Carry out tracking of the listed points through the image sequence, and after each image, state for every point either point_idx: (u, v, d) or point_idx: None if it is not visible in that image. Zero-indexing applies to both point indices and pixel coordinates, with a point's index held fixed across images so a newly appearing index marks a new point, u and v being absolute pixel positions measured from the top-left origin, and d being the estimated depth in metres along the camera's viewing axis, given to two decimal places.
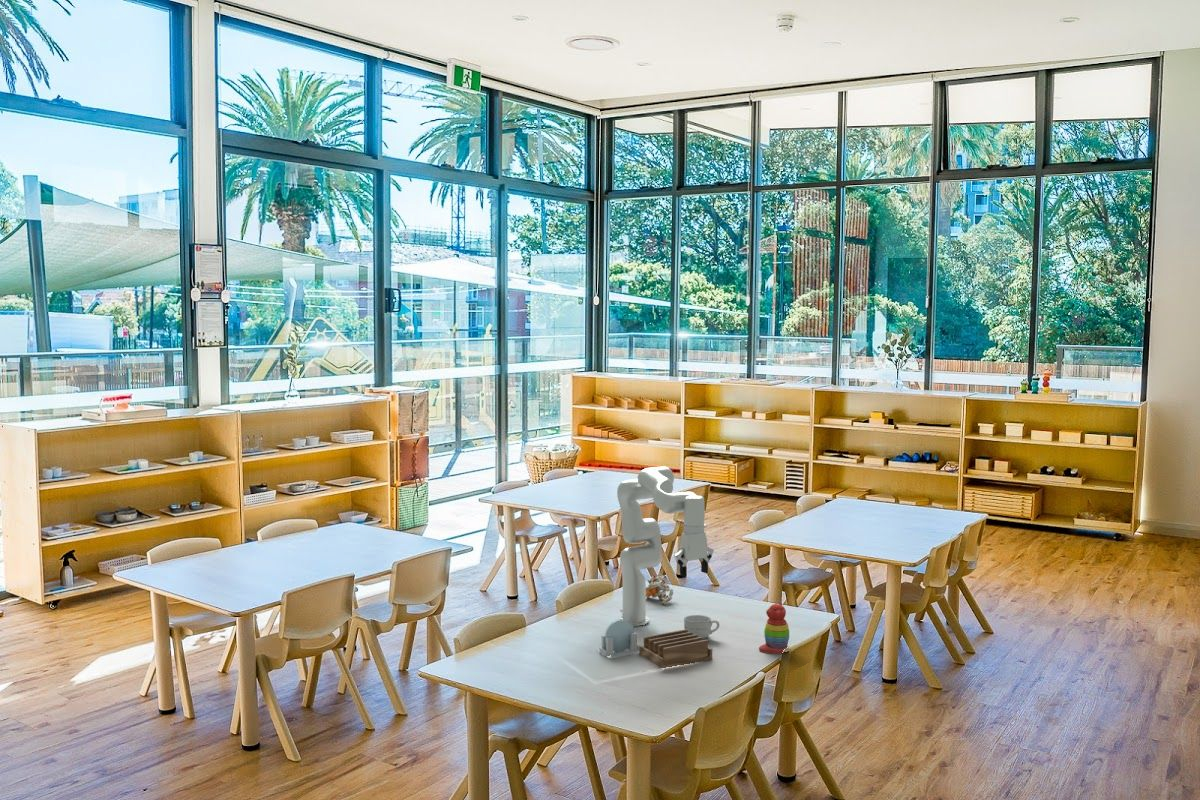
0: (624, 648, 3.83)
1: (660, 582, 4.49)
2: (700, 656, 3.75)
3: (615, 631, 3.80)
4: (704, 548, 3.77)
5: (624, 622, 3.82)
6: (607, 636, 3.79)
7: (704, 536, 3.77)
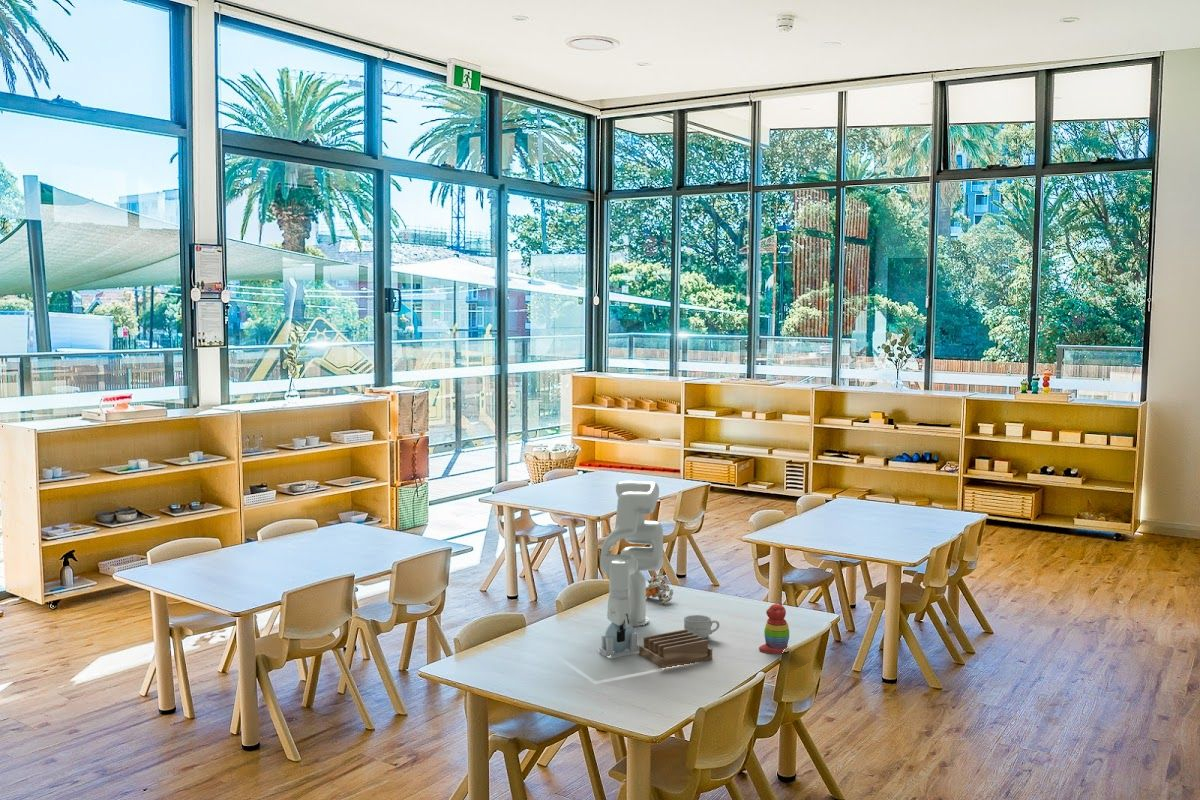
0: (624, 648, 3.83)
1: (660, 582, 4.49)
2: (700, 656, 3.75)
3: (615, 631, 3.80)
4: None
5: None
6: (607, 636, 3.79)
7: None
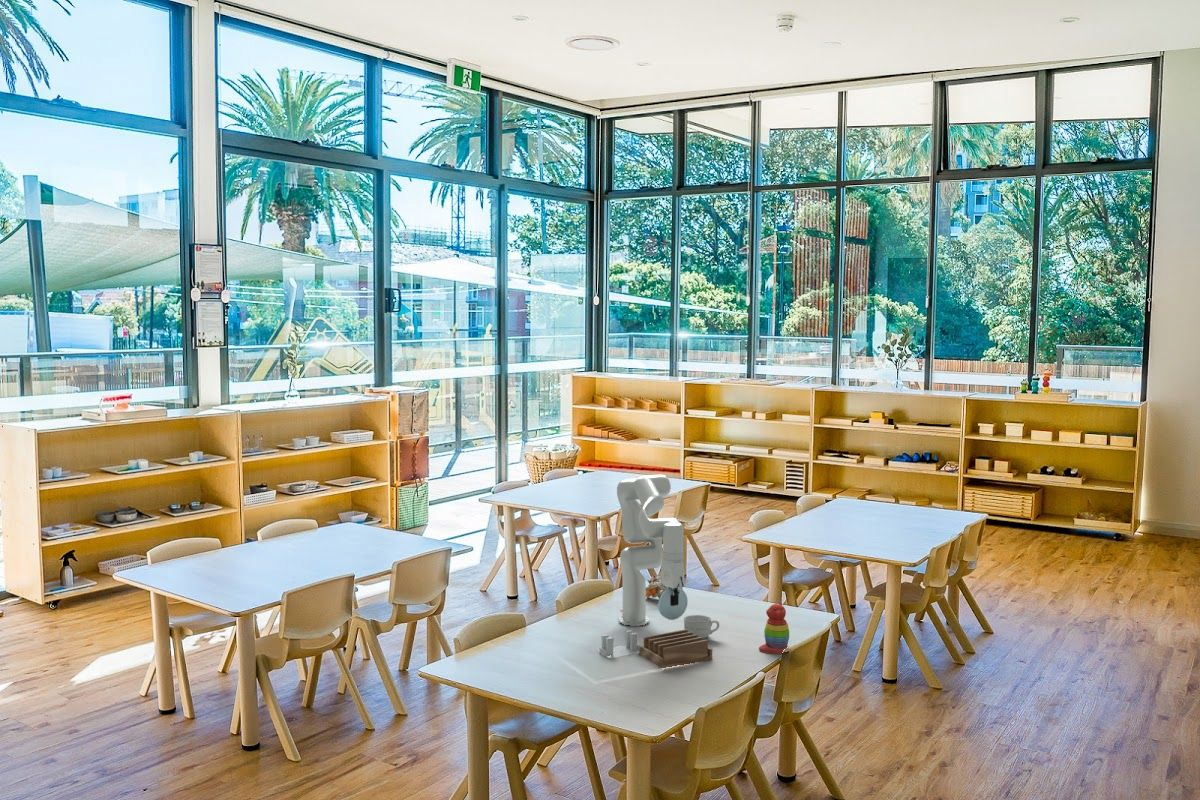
0: (675, 617, 3.78)
1: (660, 582, 4.49)
2: (700, 656, 3.75)
3: (670, 597, 3.76)
4: None
5: None
6: (662, 600, 3.75)
7: None
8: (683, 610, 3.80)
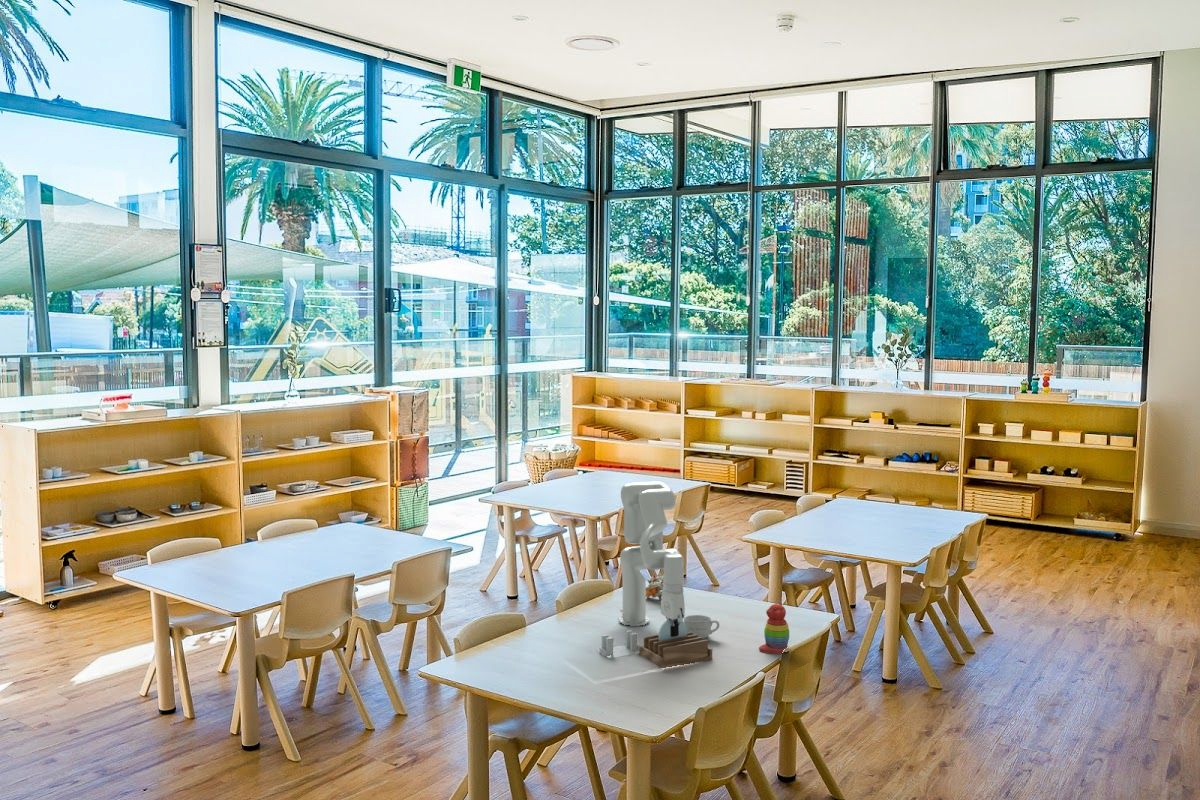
0: None
1: (660, 582, 4.49)
2: (700, 656, 3.75)
3: None
4: None
5: (683, 624, 3.80)
6: (664, 627, 3.76)
7: None
8: None
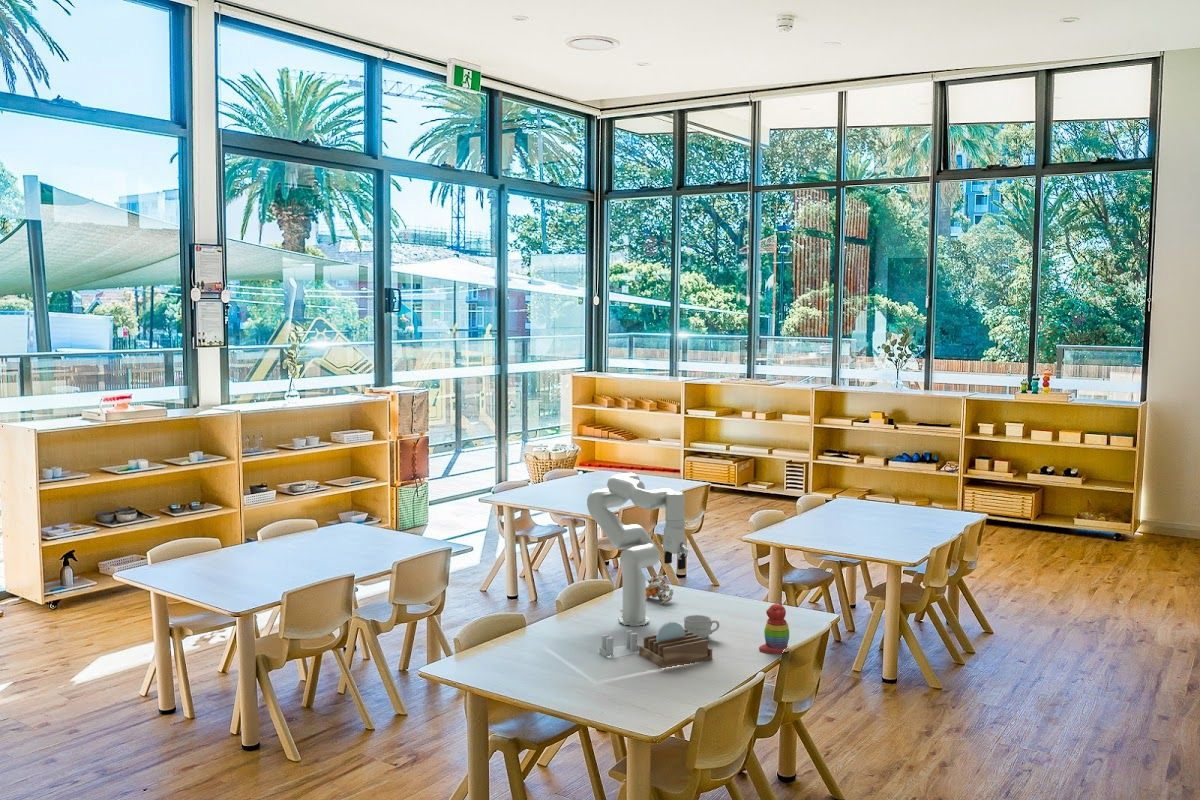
0: None
1: (660, 582, 4.49)
2: (700, 656, 3.75)
3: (669, 631, 3.77)
4: None
5: (679, 626, 3.79)
6: (660, 633, 3.76)
7: None
8: None
